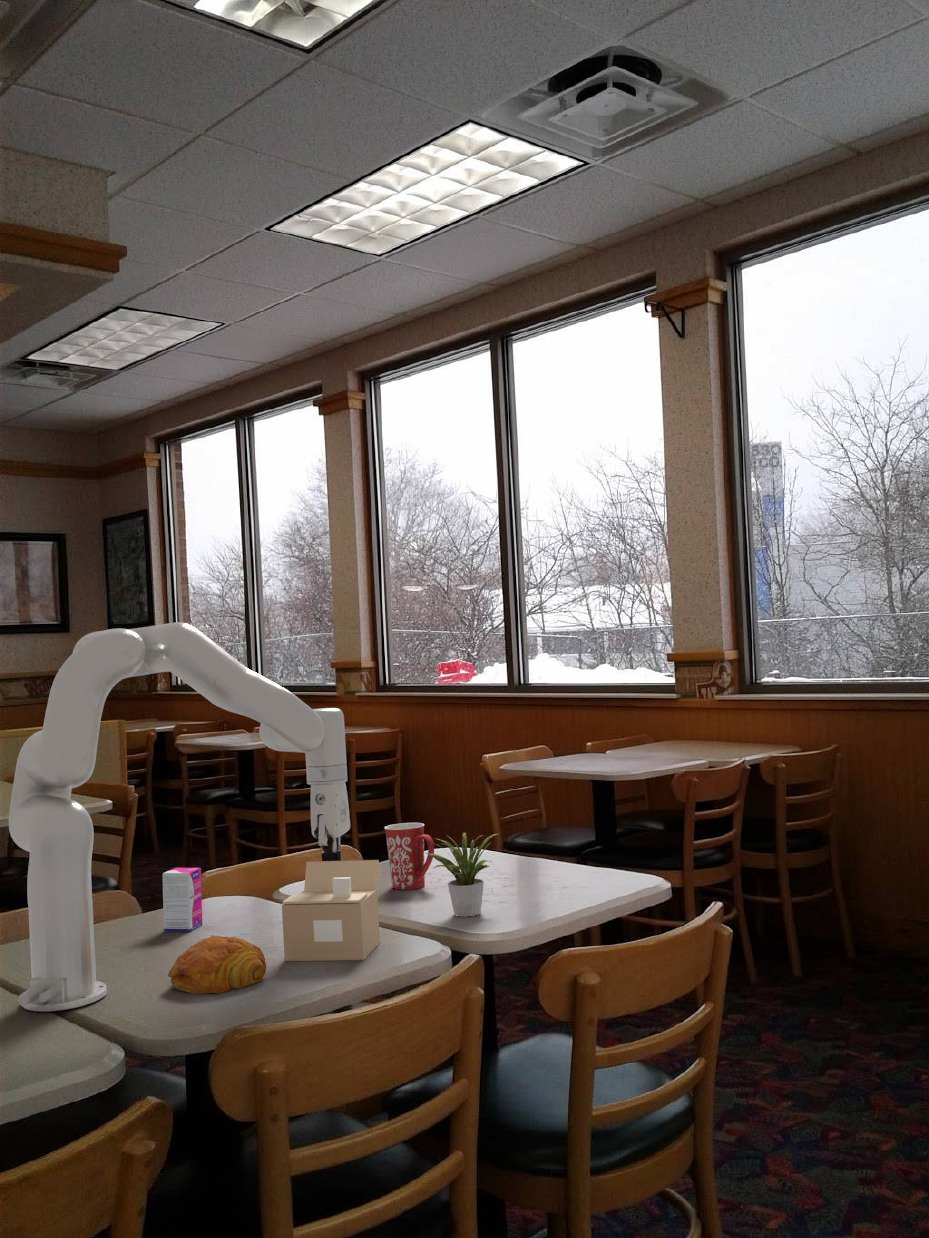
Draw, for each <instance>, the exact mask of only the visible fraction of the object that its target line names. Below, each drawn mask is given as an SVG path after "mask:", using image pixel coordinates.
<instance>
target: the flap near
mask: <svg viewBox="0 0 929 1238" xmlns="http://www.w3.org/2000/svg"><path fill="white" fill-rule="evenodd" d="M332 885H333V894H315V895H297V894H291V895H290V896H288V897H287V898H286V899H284V900H283V901H282V904H281V905H283V904H315V903H359V902H361V901H362V900H363V899H364V898H365V897H366V896H367V893H363V894H351V877H340V878H333V879H332Z"/></svg>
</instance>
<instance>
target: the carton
mask: <svg viewBox="0 0 929 1238" xmlns="http://www.w3.org/2000/svg"><path fill="white" fill-rule="evenodd" d="M363 893H367V896H366V897H365V898H364V899H363V900H362V901H361V902H359V903H315V904H281V916H282V917H281V918H282V933H283V934H282V935H283V953H284V962H296V961H298V962H299V961H302V962H303V961H305V962H309V961H314V962H315V961H365V960H366V958H367V957H368V956H370V954H371V953H372V952H373V951H374V949H375V948H376V947H377V946H378V945H380V943H381V939H380V937H381V936H380V923H379V922H380V920H379V903H378V901H379V900H378V888H377V889H358V890H351V894H363ZM315 894H333V890H311V891H305V890H301V891H300V892H298V893H297V894H296V895H315Z"/></svg>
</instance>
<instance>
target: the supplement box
mask: <svg viewBox="0 0 929 1238" xmlns="http://www.w3.org/2000/svg"><path fill="white" fill-rule="evenodd" d="M202 894H203V892H202V868H201V867H174V868H172V869H170V870H167V871H165V872H163V873H162V901H163V902H162V903H163V904H162V905H163V932H164V933H187V932H188V933H189V932H191V931H193V930H194V929H196V928H199V927H200V926H202V925H203V903H202V902H203V897H202Z"/></svg>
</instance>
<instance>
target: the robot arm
mask: <svg viewBox="0 0 929 1238" xmlns="http://www.w3.org/2000/svg"><path fill="white" fill-rule="evenodd" d="M169 672H170V673H172V674H173V675H175V676H176V677H177V678H178V679H180V680H181V681H183V682H184V683H185V684H187V685H188V686H189V687H191V688H192V689H193V690H195V692H197V693H199V695H201V696H202V697H204V698H205V699H206V700H208V701H209V702H210V703H211V704H213V705H215V706H216V707H218V708H221V709H222V710H225V711H227V712H230V713H233V714H237V715H241V716H244V717H247V718H249V719H252V720H254V721H256V722H258V723H259V724H260V725H259V731H258V732H259V733H258V734H259V738H260V741H261V742H262V743H263V744H264V745H265V746H266V747H267V748H268V749H271V750H273V751H277V752H285V753H286V752H287V753H288V752H289V753H290V752H291V753H304V754H305V768H306V784H307V785H308V786H309V785H310V826H311V835H312V836H313V837H314V839H318V846H320V852H321V853H320V854H321V861H342V855H341V837H342V836H343V835H344V834H346V833H347V832H348V831H349V830H350V829H351V818H350V816H351V815H350V808H349V805H350V804H349V798H348V796H349V795H348V791H347V785H346V782H348V767H347V748H346V747H347V745H346V730H345V729H346V728H345V717H344V716H345V715H344V713H343V710H342V709H340V708H337V707H323V708H322V707H321V708H311V707H310V705H308V704H306V702H304V701H303V700H301V698H299V697H298V696H296V695H295V694H294V693H292V692H291V691H289V690H288V689H287V688H285V687H284V686H283V687H282V686H281V685H279V684H278V683H275V682H273V681H272V680H270V679H268V678H266V677H265V676H263V675H261V674H259V673H257V672H256V671H254V670H251V669H249V668H248V667H247V666H245V665H244V664H243V663H241V662H240V661H239V660H237V659H236V658H235V657H233V656H232V655H231V654H229V653H228V651H226V650H224V649H223V648H222V647H220V645H218V644H217V643H216V642H214V641H213V640H212V639H210V638H209V636H207V635H205V633H203V632H202V631H200V630H199V629H198V628H196V627H195V626H193V625H192V624H190V623H187V622H180V621H177V622H176V621H175V622H170V623H163V624H156V625H149V626H144V627H137V628H129V629H127V628H120V627H119V628H110V629H105V630H99V631H93V632H89V633H87V634H86V635H84V636H82V637H81V638H80V639H79V640H77V642H76V643H75V645H74V647H73V650H72V654H70V655H69V656H68V657H67V659H66V660H65V661H64V662H63V664H61V667H60V668H59V669H58V671H57V673H56V675H55V677H54V679H53V682H52V685H51V688H50V689H49V690H50V691H49V696H48V700H47V706H46V709H45V716H44V719H43V726H42V729H40V730H39V731H36V732H34V733H33V734H32V735H30V736H29V737H28V738H27V739H26V741H24V743H23V745H22V746H21V749H20V751H19V753H18V756H17V760H16V764H15V765H16V766H15V771H14V778H13V784H12V792H11V798H10V805H9V812H8V830H9V834H10V837H11V838H12V840H13V842H14V843H15V845H17V846H18V847H19V848H20V849H22V850H24V851H25V852H29V860H28V868H27V869H28V870H27V879H26V880H27V881H26V882H27V883H26V885H27V887H26V888H27V890H26V891H27V905H28V909H27V910H28V925H29V926H28V929H29V930H28V931H29V946H30V947H29V949H30V953H29V954H30V972H31V973H30V974H31V979H30V980H29V988H28V990H25V991H23V992H22V993H20V994H19V995H18V996H17V1003H18V1005H19V1006H21V1007H22V1008H23V1009H25V1010H28V1011H31V1012H40V1013H41V1012H42V1013H43V1012H45V1013H46V1012H57V1011H65V1010H71V1009H77V1008H81V1007H84V1006H87V1005H90V1004H92V1003H95V1002H97V1001H100V1000H101V999H103V998H104V997H105V996H106V995H107V993H108V989H107V987H108V986H107V985H106V983H104V982H103V981H98V980H97V976H96V975H97V972H96V968H97V967H96V949H95V930H94V929H95V928H94V927H95V926H94V908H93V905H94V904H93V891H92V888H93V887H92V859H93V858H92V857H93V847H94V836H95V835H94V832H95V831H94V825H93V820H92V818H91V816H90V813H89V812H88V811H87V809H86V808H85V807H84V806H83V805H82V804H81V803H79V802H77V801H76V800H74V799H71V795H72V789H75V788H78V787H81V786H82V785H83V784H85V783H86V782H87V781H89V780H90V778H91V776H92V775H93V773H94V770H95V766H96V761H97V752H98V743H99V738H100V737H99V735H100V727H101V719H102V716H103V711H104V706H105V702H106V700H107V697H108V696H109V693H110V692H111V691H112V689H113V688H114V687H115V686H116V685H117V684H118V683H119V682H120V681H122V680H124V679H127V678H133V677H140V676H147V675H151V674H159V673H169Z"/></svg>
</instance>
